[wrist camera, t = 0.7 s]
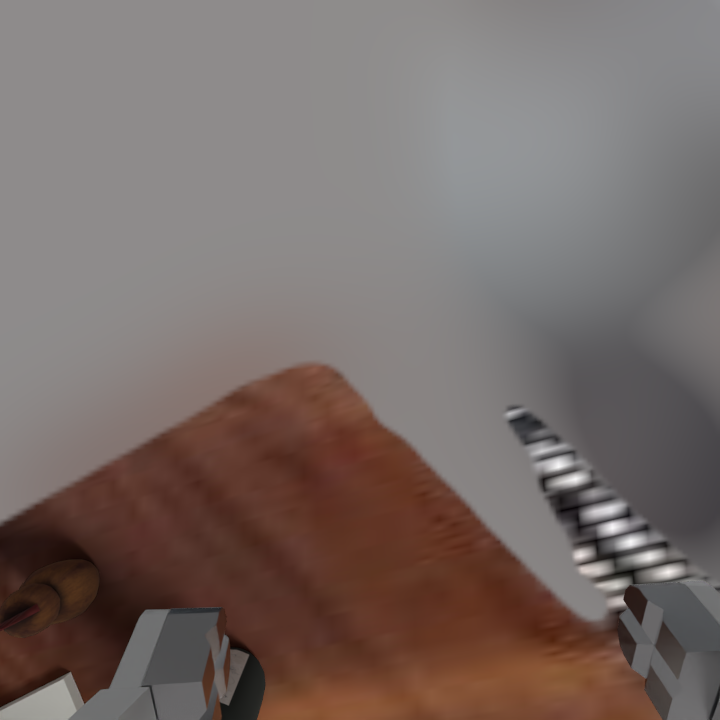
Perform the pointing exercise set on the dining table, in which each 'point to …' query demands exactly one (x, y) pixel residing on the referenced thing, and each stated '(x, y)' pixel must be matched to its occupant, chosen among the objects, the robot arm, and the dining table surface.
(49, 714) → the base plate
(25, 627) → the wooden figurine
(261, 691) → the wine bottle
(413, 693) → the dining table surface
